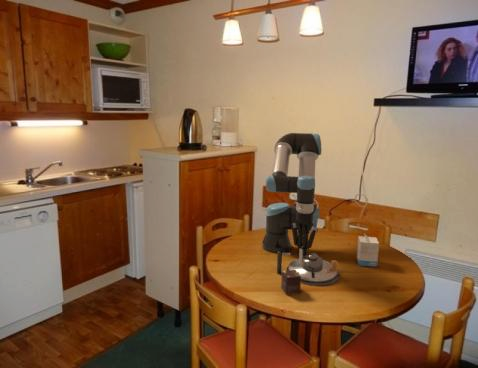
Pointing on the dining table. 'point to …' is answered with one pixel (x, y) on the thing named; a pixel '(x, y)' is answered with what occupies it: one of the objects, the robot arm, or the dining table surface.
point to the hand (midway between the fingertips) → (301, 261)
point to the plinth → (319, 283)
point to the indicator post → (280, 261)
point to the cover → (312, 262)
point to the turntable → (316, 277)
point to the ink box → (367, 251)
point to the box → (291, 282)
